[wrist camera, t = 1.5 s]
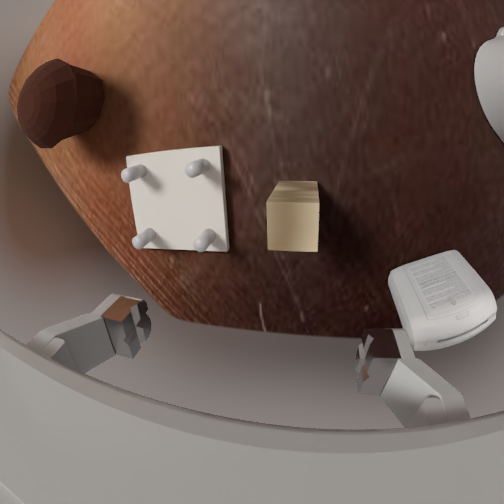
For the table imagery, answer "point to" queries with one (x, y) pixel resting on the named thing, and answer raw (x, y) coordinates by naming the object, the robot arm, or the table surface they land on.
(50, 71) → the muffin
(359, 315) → the table surface
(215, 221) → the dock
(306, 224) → the block
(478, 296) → the photo printer
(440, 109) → the table surface
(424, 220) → the table surface
